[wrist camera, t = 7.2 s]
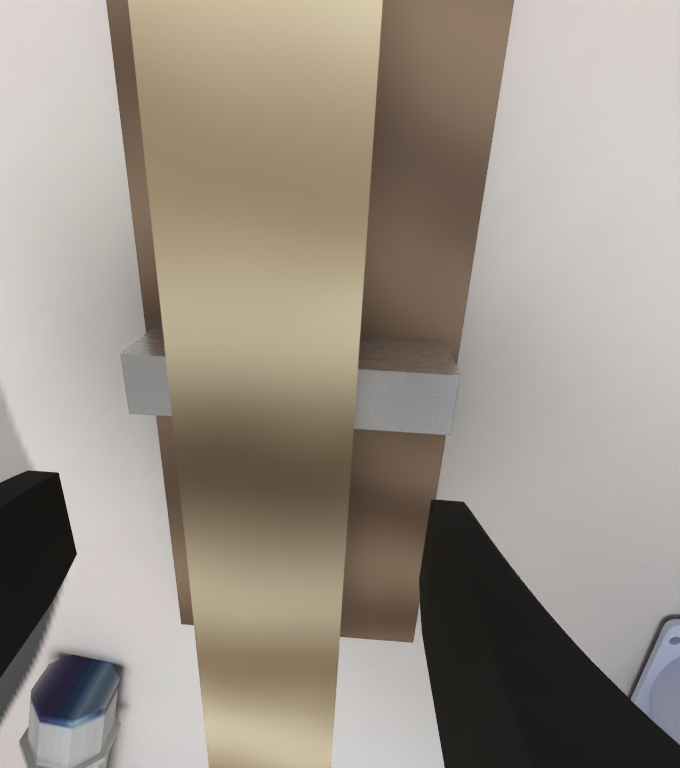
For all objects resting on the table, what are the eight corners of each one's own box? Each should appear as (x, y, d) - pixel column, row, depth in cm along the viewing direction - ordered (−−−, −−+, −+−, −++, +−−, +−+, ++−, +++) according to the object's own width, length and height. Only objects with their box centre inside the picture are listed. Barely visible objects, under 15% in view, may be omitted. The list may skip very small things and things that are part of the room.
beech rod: (337, 668, 20) (329, 781, 17) (238, 660, 20) (209, 771, 17) (390, -133, 10) (402, -292, 6) (193, -139, 10) (95, -301, 7)
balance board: (411, 624, 25) (413, 642, 24) (188, 606, 25) (181, 623, 24) (529, -156, 13) (541, -179, 12) (103, -170, 13) (83, -194, 12)
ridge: (438, 392, 18) (450, 435, 15) (164, 374, 18) (129, 413, 16) (445, 340, 17) (459, 375, 15) (159, 322, 18) (120, 353, 15)
